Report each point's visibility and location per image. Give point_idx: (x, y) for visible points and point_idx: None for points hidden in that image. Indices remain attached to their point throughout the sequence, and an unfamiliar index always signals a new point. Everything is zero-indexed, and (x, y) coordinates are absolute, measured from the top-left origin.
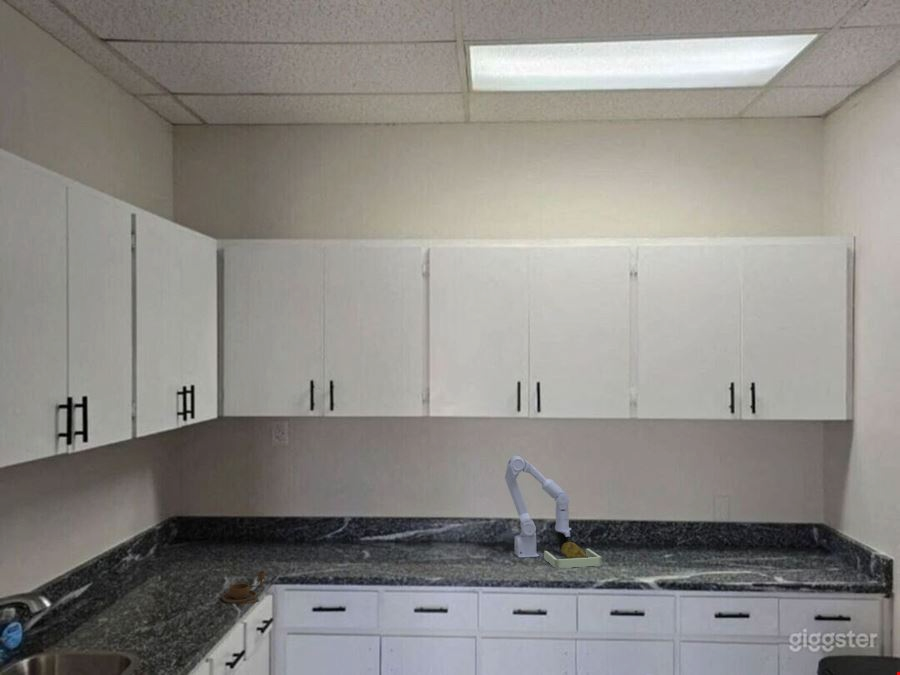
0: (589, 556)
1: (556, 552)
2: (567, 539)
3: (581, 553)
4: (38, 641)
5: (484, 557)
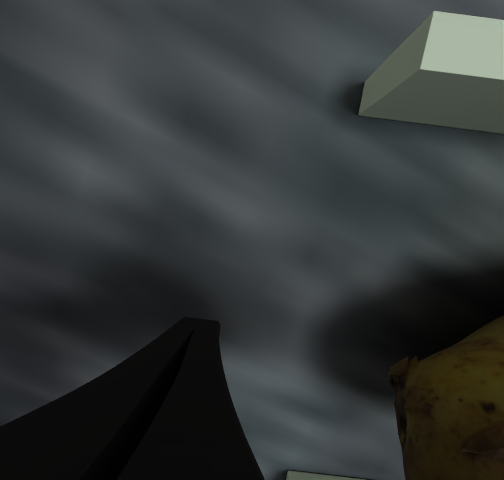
0: (489, 119)
1: (108, 320)
2: (247, 458)
3: None
4: None
5: None
